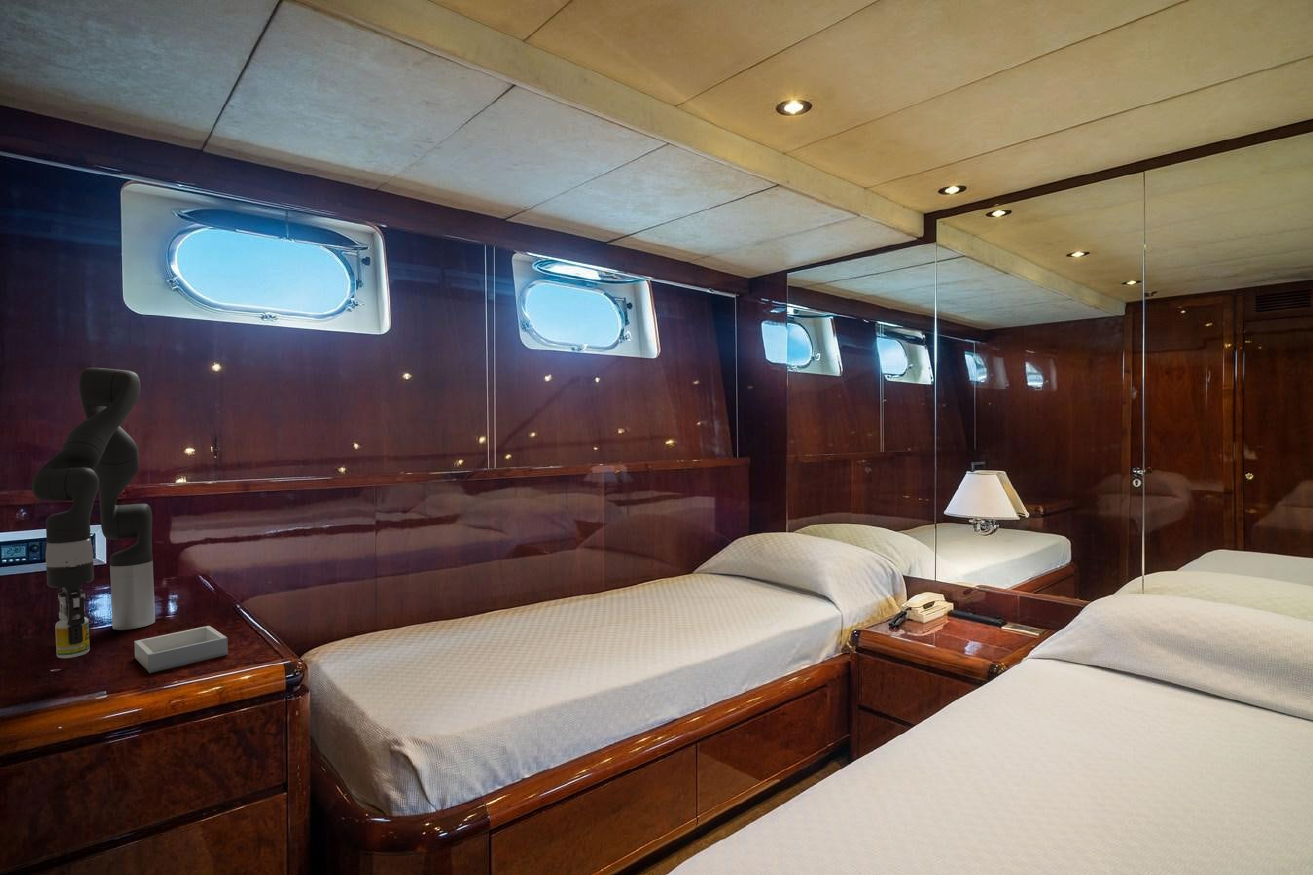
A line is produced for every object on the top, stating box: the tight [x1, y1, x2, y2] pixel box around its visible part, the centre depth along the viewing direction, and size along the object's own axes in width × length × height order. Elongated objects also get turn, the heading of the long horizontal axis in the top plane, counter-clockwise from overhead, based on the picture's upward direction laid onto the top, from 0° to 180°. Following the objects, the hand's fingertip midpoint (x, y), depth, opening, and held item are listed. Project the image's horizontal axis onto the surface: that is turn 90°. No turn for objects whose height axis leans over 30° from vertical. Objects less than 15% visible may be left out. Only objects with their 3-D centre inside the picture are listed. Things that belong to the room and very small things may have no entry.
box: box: [134, 625, 229, 674], centre depth 157 cm, size 15×15×4 cm
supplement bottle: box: [54, 610, 91, 659], centre depth 142 cm, size 5×5×10 cm
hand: (73, 639), depth 142 cm, fingers closed on supplement bottle, 5 cm apart
